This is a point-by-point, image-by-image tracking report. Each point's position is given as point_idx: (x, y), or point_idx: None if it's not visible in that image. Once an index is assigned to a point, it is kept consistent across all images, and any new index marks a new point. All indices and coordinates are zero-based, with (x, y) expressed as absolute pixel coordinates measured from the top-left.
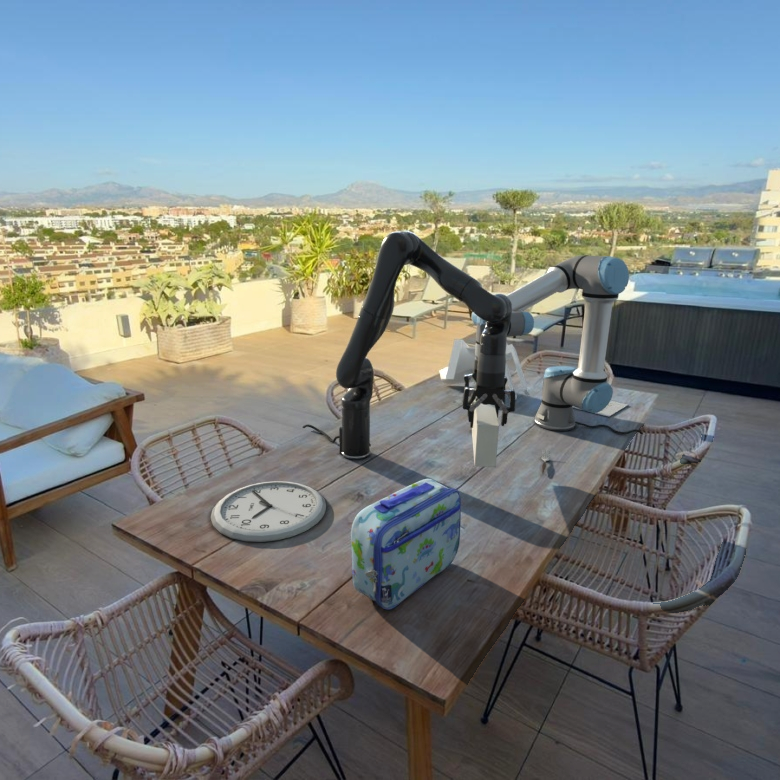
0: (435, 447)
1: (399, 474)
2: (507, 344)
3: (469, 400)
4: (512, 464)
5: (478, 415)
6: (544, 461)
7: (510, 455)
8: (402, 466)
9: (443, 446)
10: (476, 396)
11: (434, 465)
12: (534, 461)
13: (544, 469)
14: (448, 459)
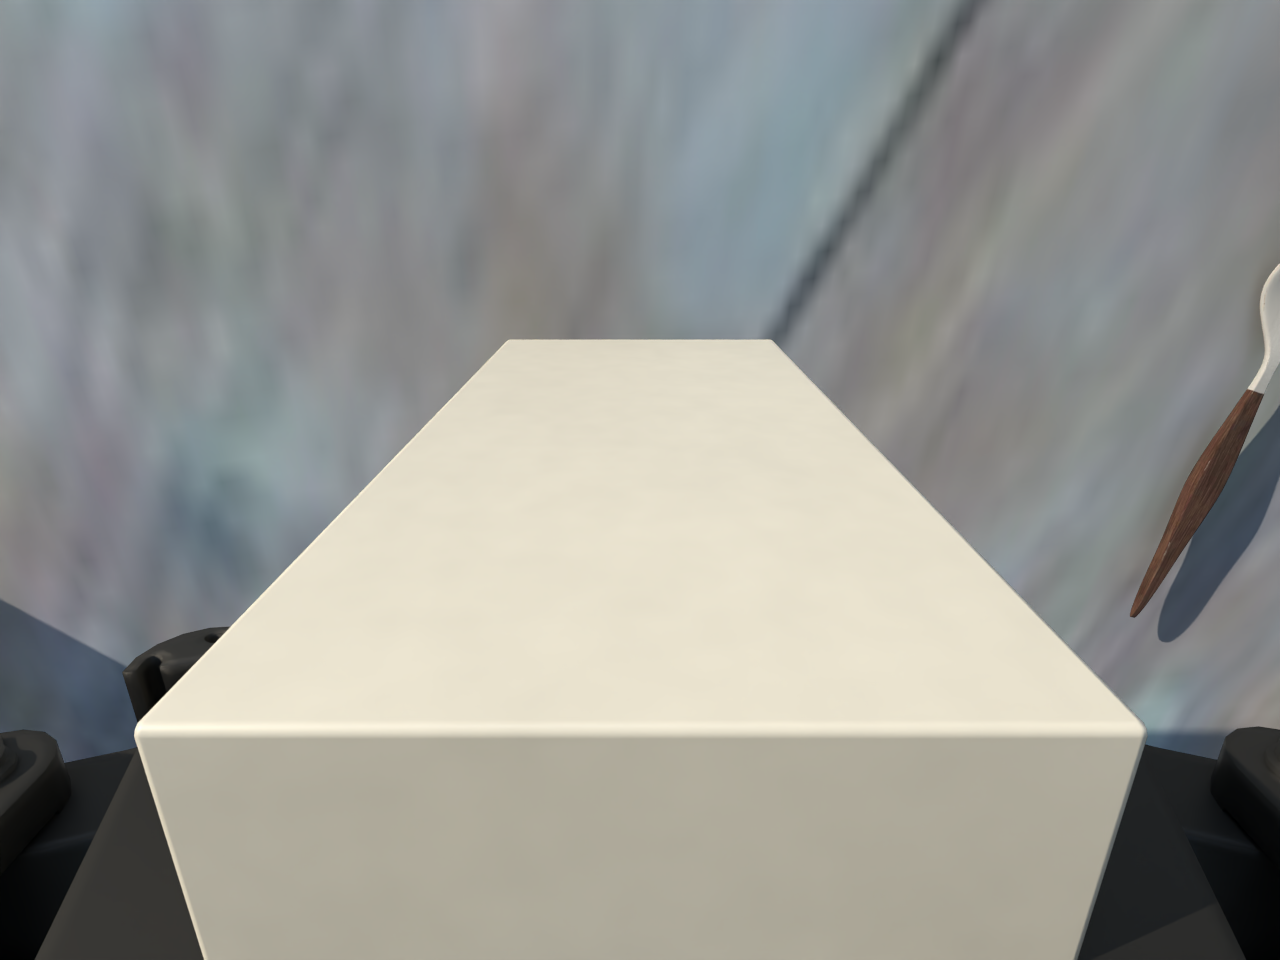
0: (163, 137)
1: (46, 726)
2: None
3: (107, 862)
4: (932, 438)
5: None
6: (1257, 388)
7: (965, 230)
8: (12, 608)
9: (243, 89)
10: (284, 894)
11: (258, 555)
12: (1165, 342)
13: (1180, 550)
14: (354, 422)
